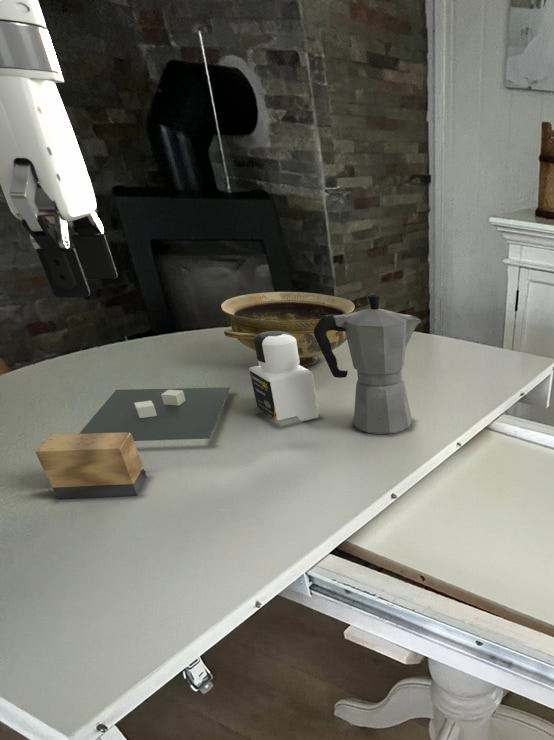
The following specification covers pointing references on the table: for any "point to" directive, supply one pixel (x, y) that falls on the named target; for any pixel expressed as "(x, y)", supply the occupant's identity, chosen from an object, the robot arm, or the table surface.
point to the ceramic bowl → (286, 318)
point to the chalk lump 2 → (173, 397)
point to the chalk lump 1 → (145, 409)
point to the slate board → (160, 414)
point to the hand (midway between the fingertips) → (89, 287)
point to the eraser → (92, 465)
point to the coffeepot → (373, 364)
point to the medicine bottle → (282, 378)
